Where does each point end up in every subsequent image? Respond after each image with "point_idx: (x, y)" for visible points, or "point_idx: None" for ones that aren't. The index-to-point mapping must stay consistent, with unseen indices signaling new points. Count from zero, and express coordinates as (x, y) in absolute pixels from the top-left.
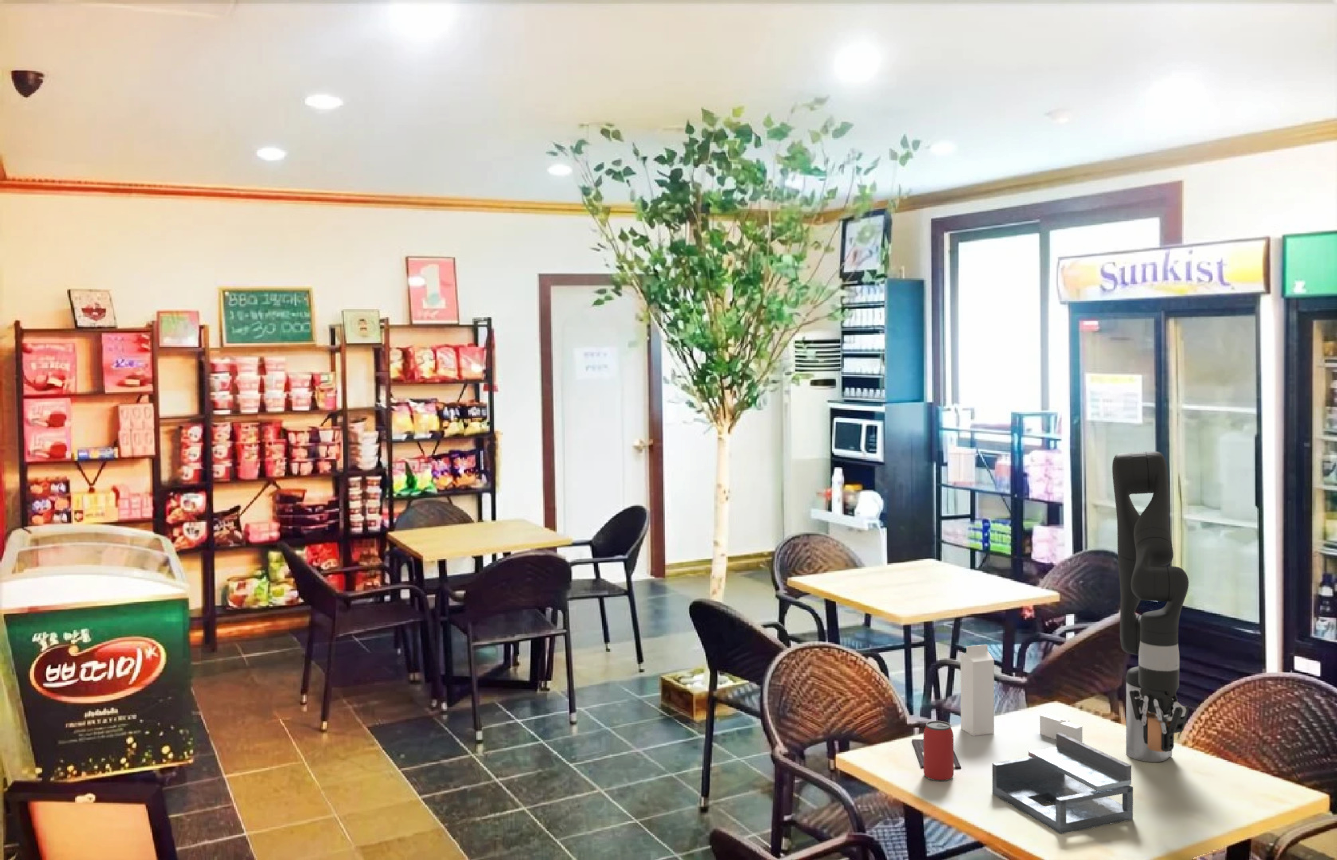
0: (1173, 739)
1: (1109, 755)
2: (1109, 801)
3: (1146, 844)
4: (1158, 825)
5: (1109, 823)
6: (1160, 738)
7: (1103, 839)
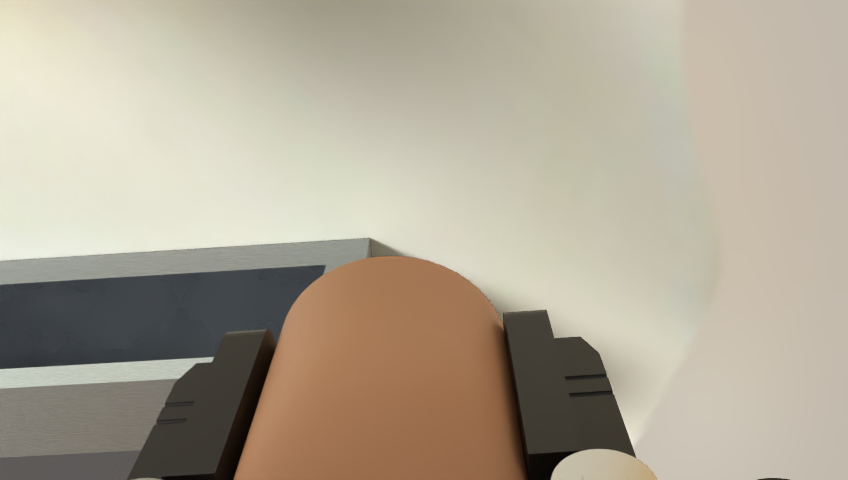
0: (622, 421)
1: (79, 456)
2: (225, 302)
3: (628, 351)
4: (474, 161)
5: None
6: None
7: None
